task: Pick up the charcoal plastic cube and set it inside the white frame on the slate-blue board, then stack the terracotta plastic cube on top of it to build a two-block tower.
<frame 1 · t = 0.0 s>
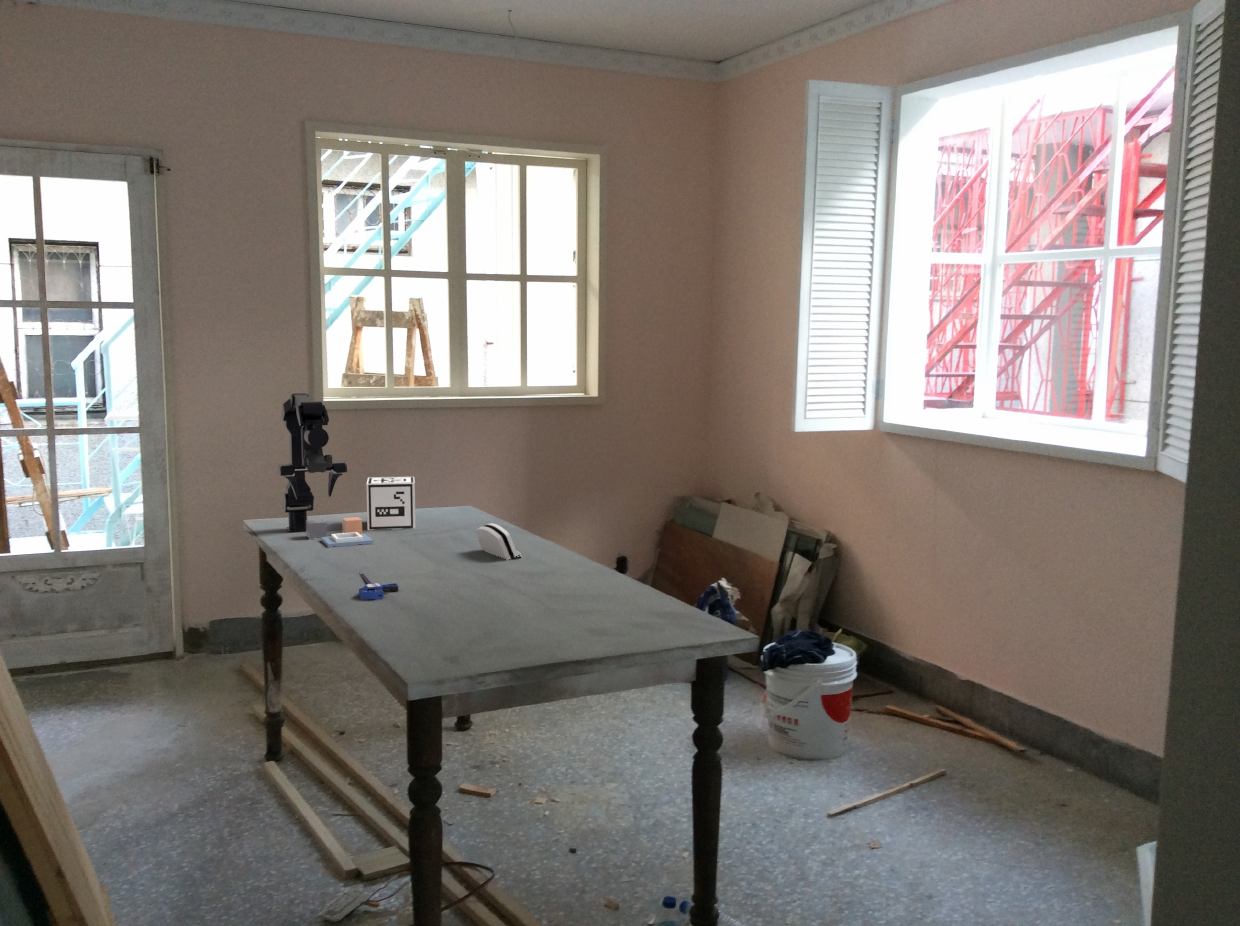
hand: (313, 497, 289), 15 cm above the table, tool pointing down, fingers open, 9 cm apart
striped white half-disc: (497, 555, 283), on the table
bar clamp: (371, 585, 249), on the table
terracotta cube: (352, 534, 310), on the table
charcoal cube: (316, 537, 304), on the table
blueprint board: (347, 541, 298), on the table
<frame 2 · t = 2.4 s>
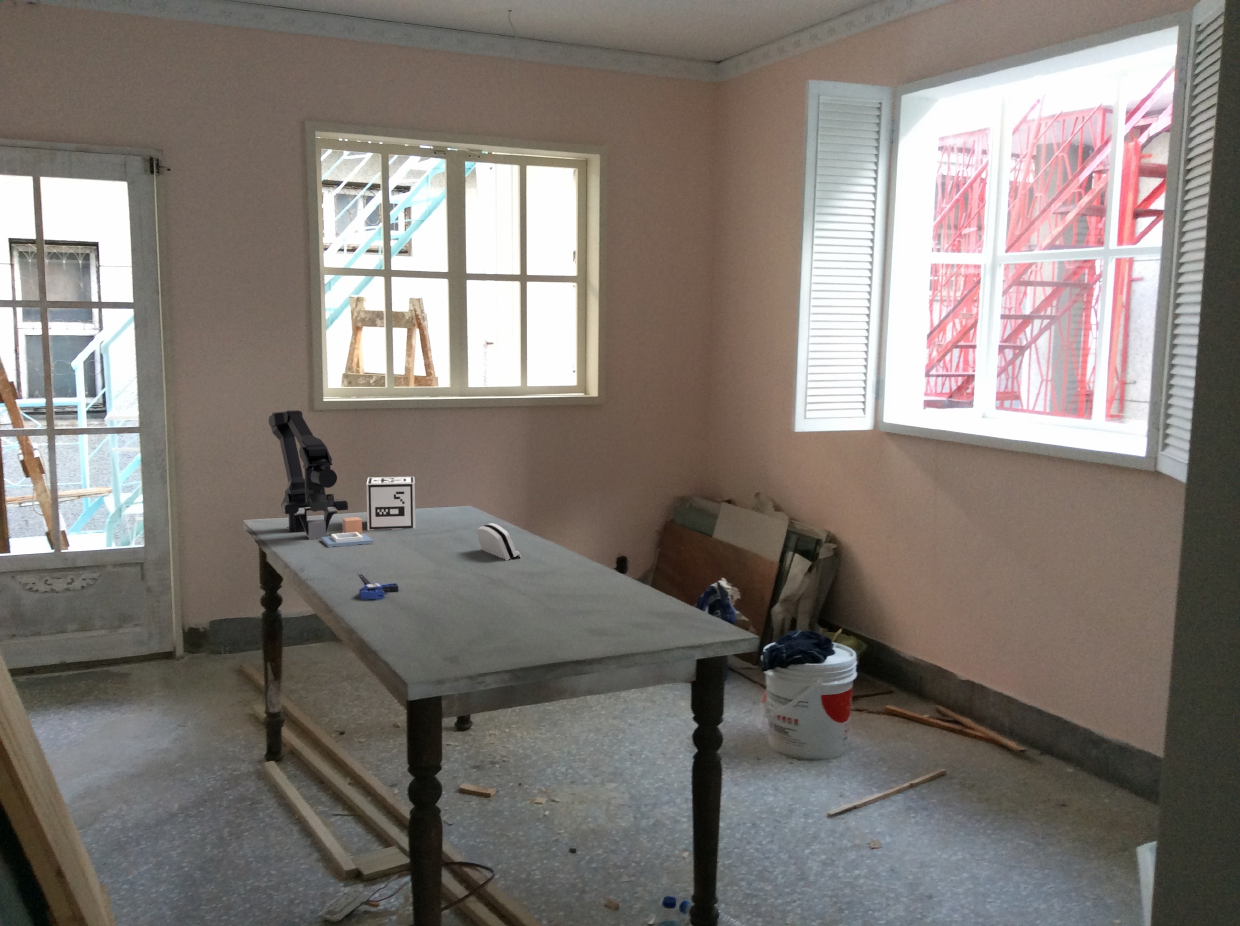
hand: (316, 533, 304), 1 cm above the table, tool pointing down, fingers closed on charcoal cube, 5 cm apart
charcoal cube: (316, 537, 304), on the table, touching gripper
everything else where it was.
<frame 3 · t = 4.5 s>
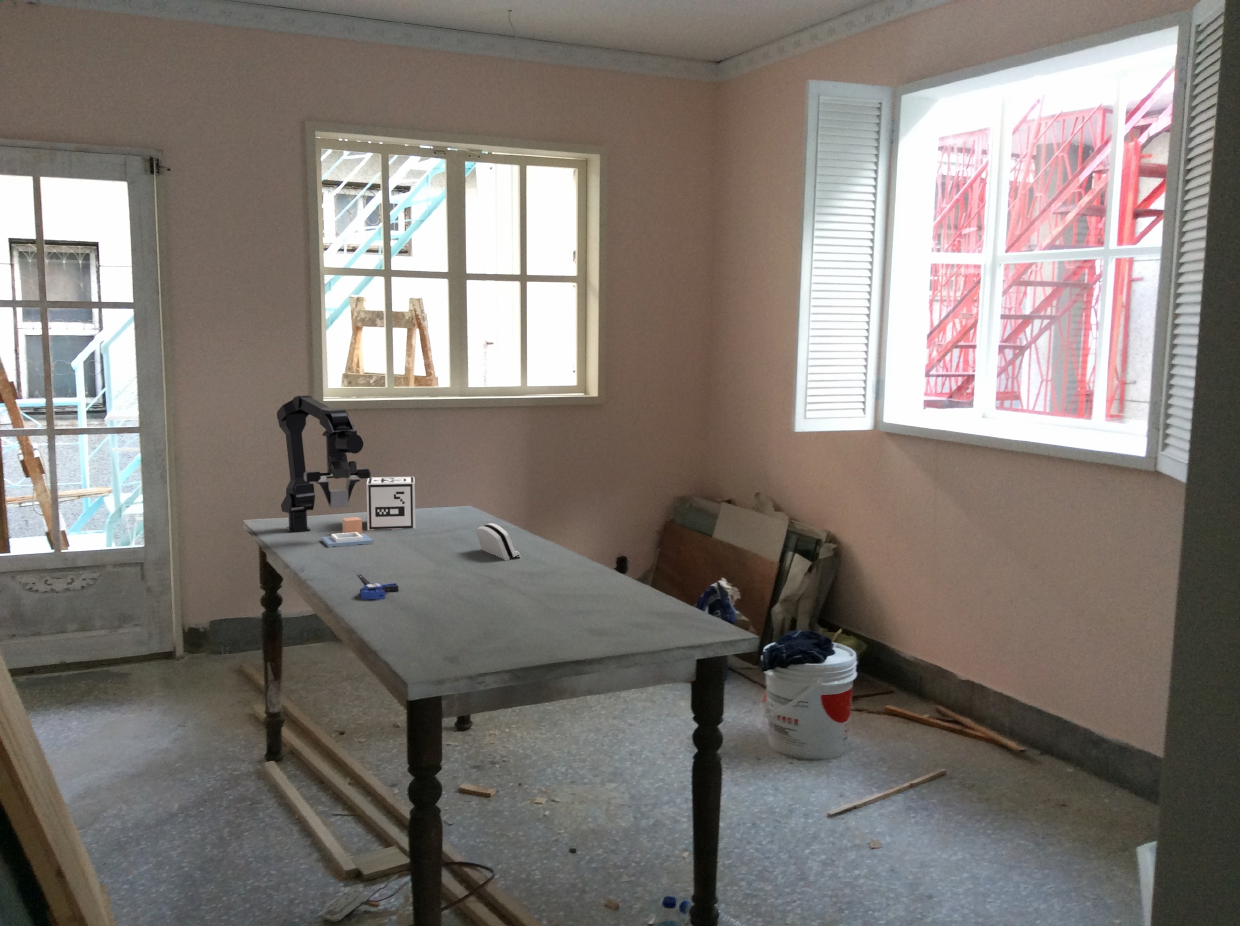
hand: (338, 503, 298), 12 cm above the table, tool pointing down, fingers closed on charcoal cube, 5 cm apart
charcoal cube: (338, 506, 298), point 11 cm above the table, touching gripper
everything else where it was.
when the fingers open (3 cm above the table, at t = 6.5 s): charcoal cube drops 1 cm, resting on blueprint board.
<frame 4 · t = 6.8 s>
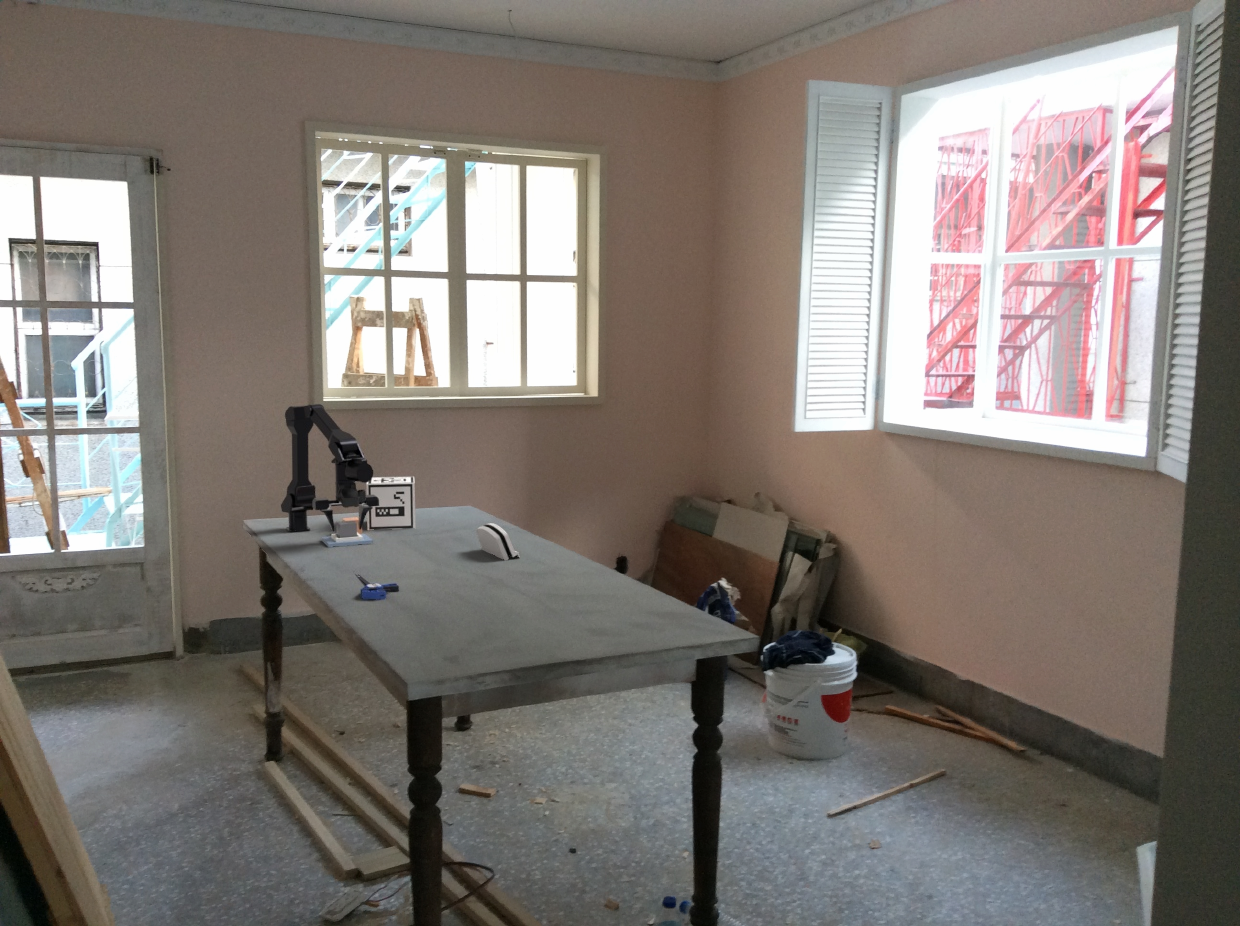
hand: (346, 530, 298), 3 cm above the table, tool pointing down, fingers open, 8 cm apart
charcoal cube: (346, 538, 298), point 1 cm above the table, touching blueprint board
everything else where it was.
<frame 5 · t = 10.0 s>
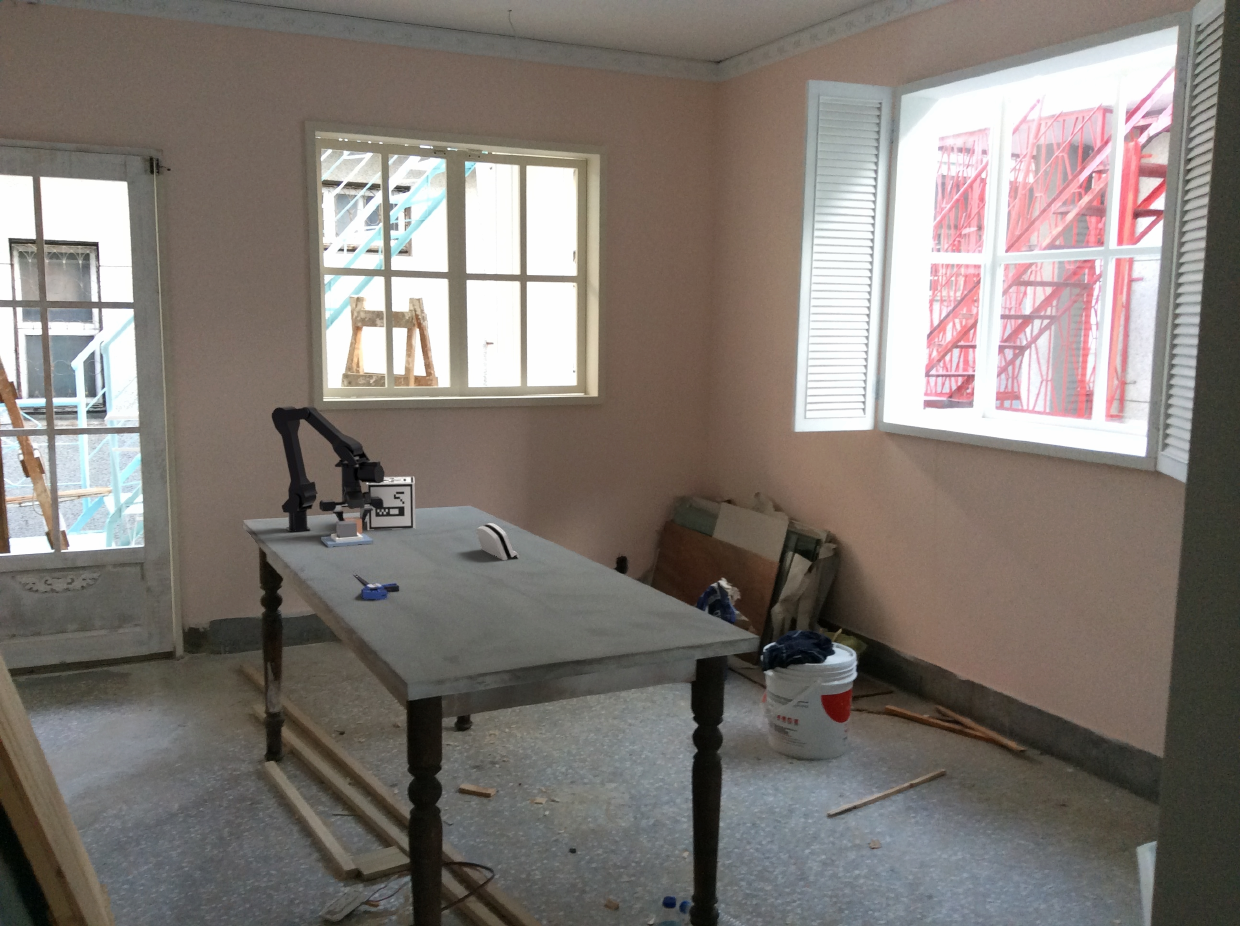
hand: (352, 531, 309), 1 cm above the table, tool pointing down, fingers closed on terracotta cube, 5 cm apart
terracotta cube: (352, 534, 309), on the table, touching gripper
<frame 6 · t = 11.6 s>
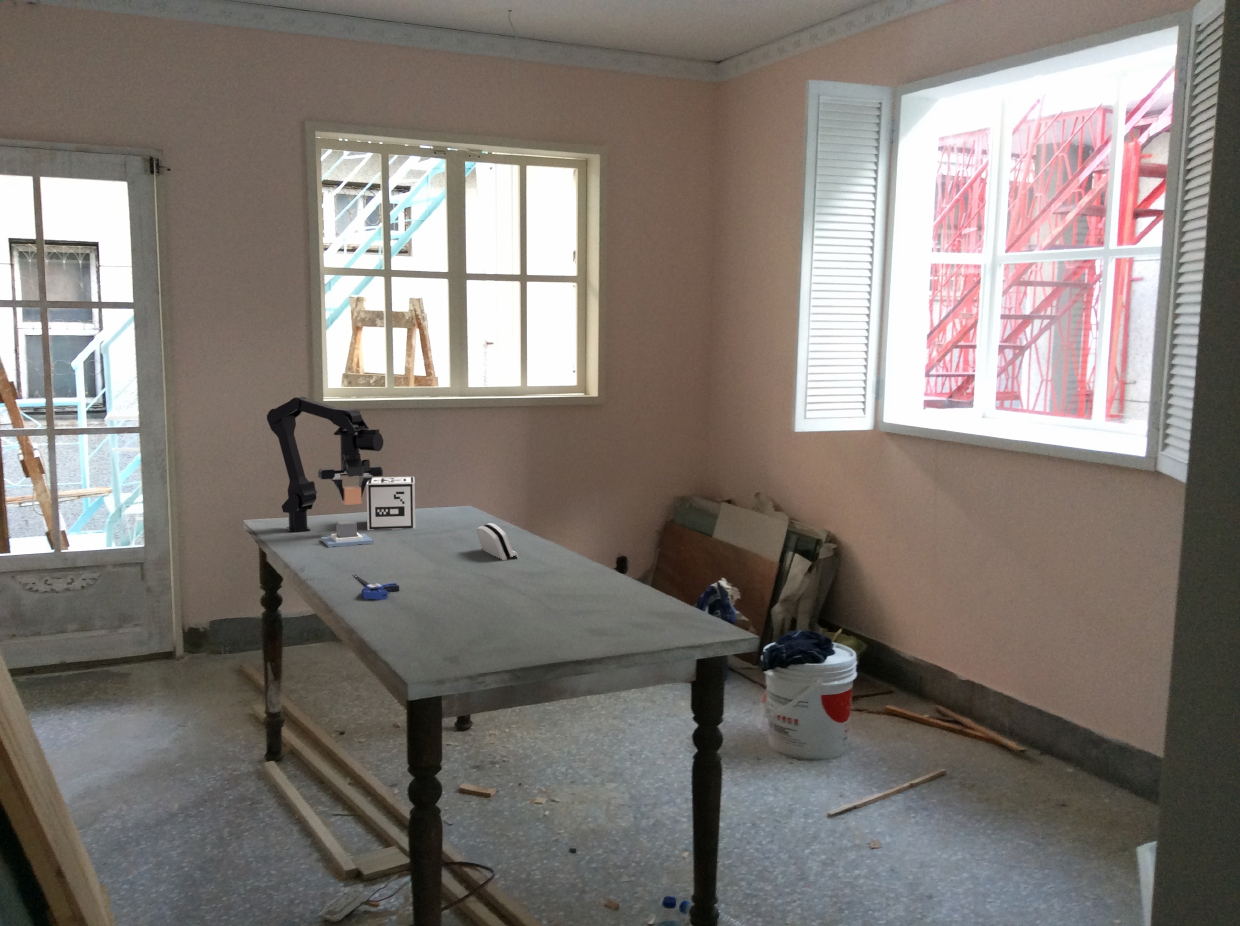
hand: (351, 499, 308), 11 cm above the table, tool pointing down, fingers closed on terracotta cube, 5 cm apart
terracotta cube: (351, 503, 308), point 10 cm above the table, touching gripper
when the fingers open (8 cm above the table, at t = 13.3 s): terracotta cube stays where it is, resting on charcoal cube.
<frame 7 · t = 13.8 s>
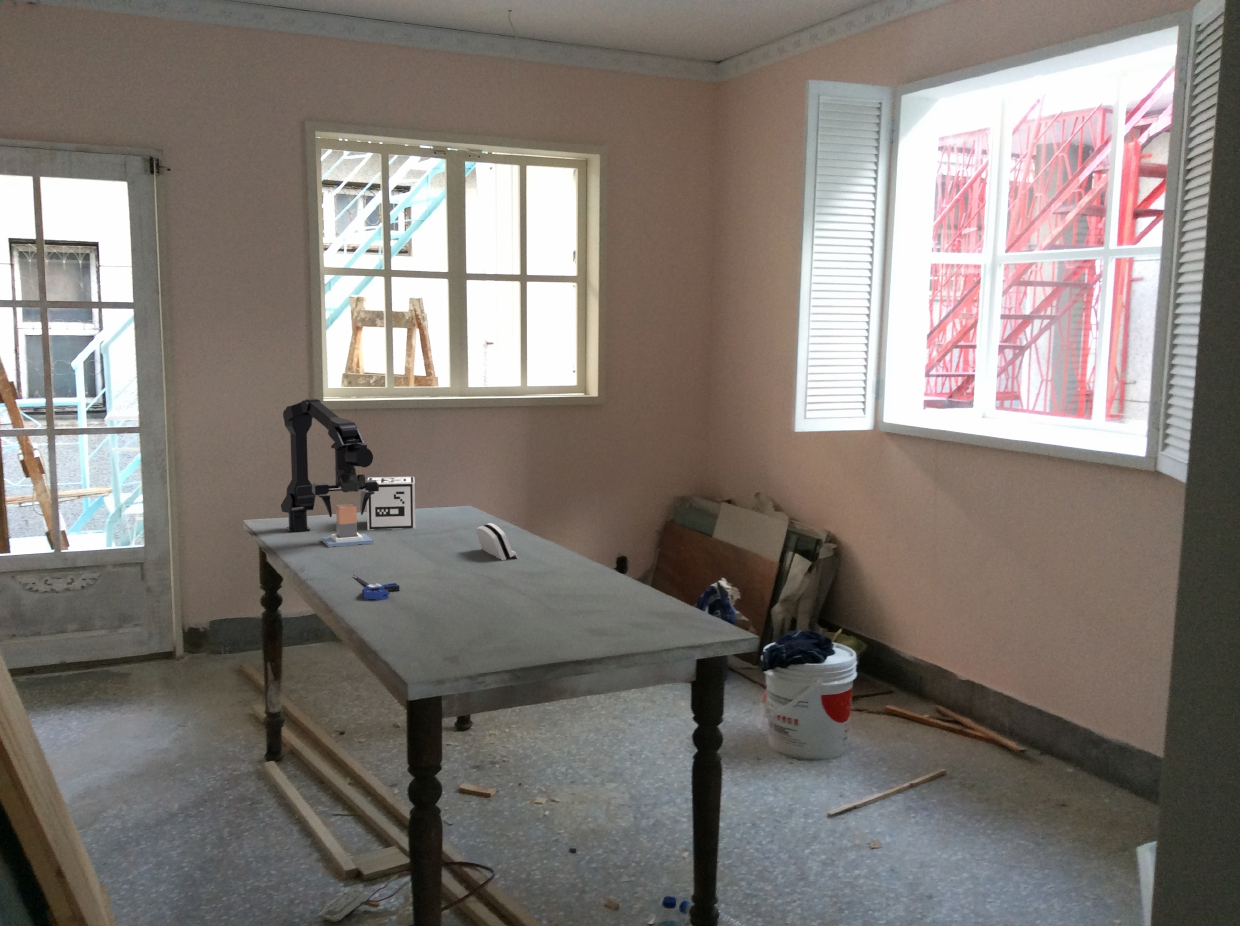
hand: (346, 515, 297), 8 cm above the table, tool pointing down, fingers open, 9 cm apart
terracotta cube: (346, 522, 297), point 6 cm above the table, touching charcoal cube
charcoal cube: (346, 538, 298), point 1 cm above the table, touching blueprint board, terracotta cube
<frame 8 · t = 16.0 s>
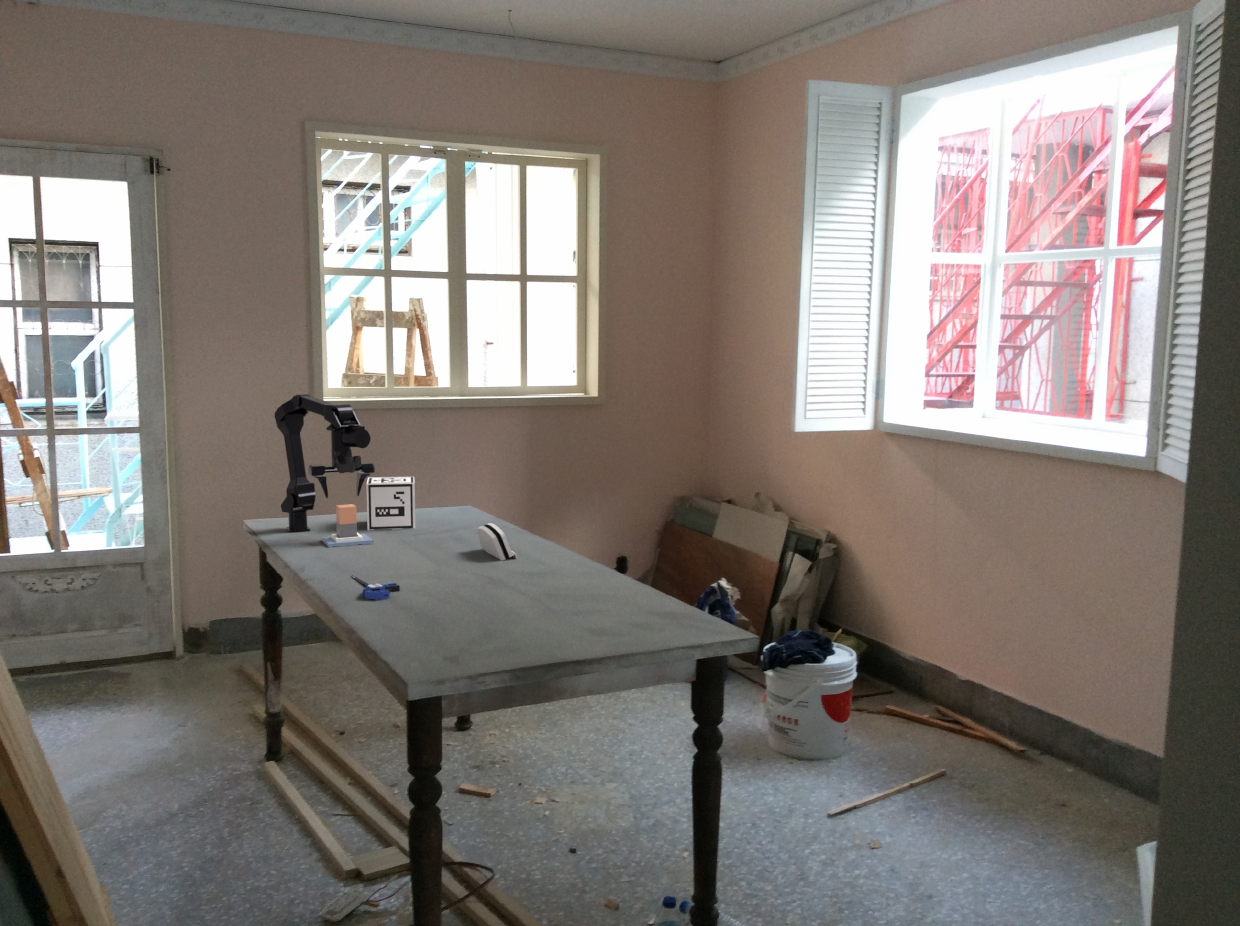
hand: (342, 496, 301), 13 cm above the table, tool pointing down, fingers open, 9 cm apart
at the end: charcoal cube 0.0 cm off-centre on the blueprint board, point 1.0 cm above the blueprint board's base; terracotta cube 0.0 cm off-centre on the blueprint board, point 6.0 cm above the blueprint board's base; terracotta cube tilted 0° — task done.
